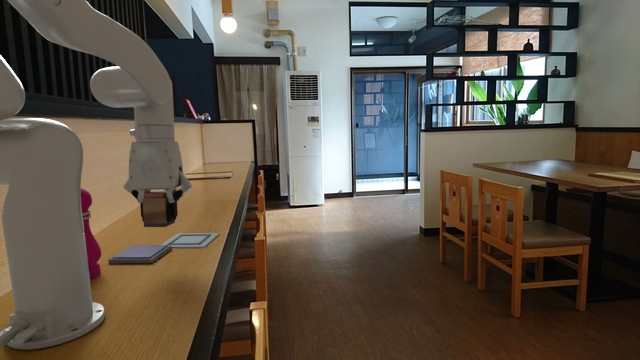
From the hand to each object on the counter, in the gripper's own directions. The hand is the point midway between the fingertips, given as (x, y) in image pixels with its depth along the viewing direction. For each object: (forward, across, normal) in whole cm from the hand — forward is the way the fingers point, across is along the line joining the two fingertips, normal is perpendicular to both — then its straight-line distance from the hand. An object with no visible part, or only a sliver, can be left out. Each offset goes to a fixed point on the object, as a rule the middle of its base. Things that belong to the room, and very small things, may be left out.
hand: (159, 219), depth 81 cm
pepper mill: (+11, -15, -4) cm, 19 cm away
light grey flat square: (+10, -2, +20) cm, 22 cm away
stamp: (+1, 0, 0) cm, 1 cm away
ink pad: (+10, -9, +8) cm, 15 cm away
